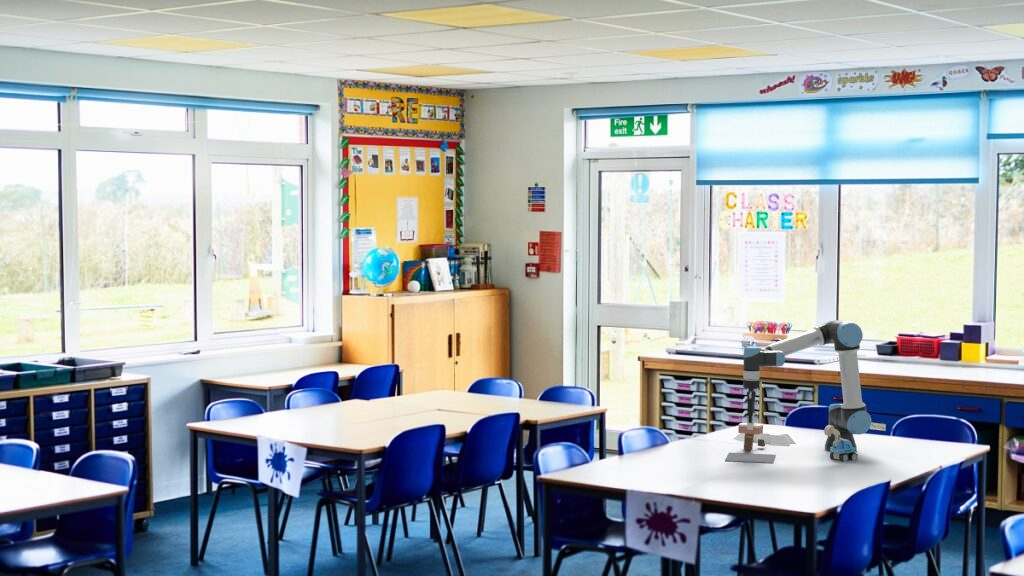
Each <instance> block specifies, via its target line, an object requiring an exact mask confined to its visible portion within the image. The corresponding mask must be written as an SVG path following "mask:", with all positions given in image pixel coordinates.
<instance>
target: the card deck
mask: <svg viewBox="0 0 1024 576" xmlns="http://www.w3.org/2000/svg"><path fill="white" fill-rule="evenodd" d="M737 428H738V434H740V433H746V434H758V435H759V434H762V433H763V429H764V424H763V423H754V424H753V430H747V422H741V423H739V424H738V427H737Z"/></svg>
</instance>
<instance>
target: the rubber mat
mask: <svg viewBox="0 0 1024 576" xmlns="http://www.w3.org/2000/svg"><path fill="white" fill-rule="evenodd" d="M775 459H776V454H772V453H771V454H770V453H769V454H767V453H745V452H728V453H727V456H726V457H725V459H724V462H730V463H731V462H732V463H753V464H754V463H755V464H772V465H774V462H775Z"/></svg>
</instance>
